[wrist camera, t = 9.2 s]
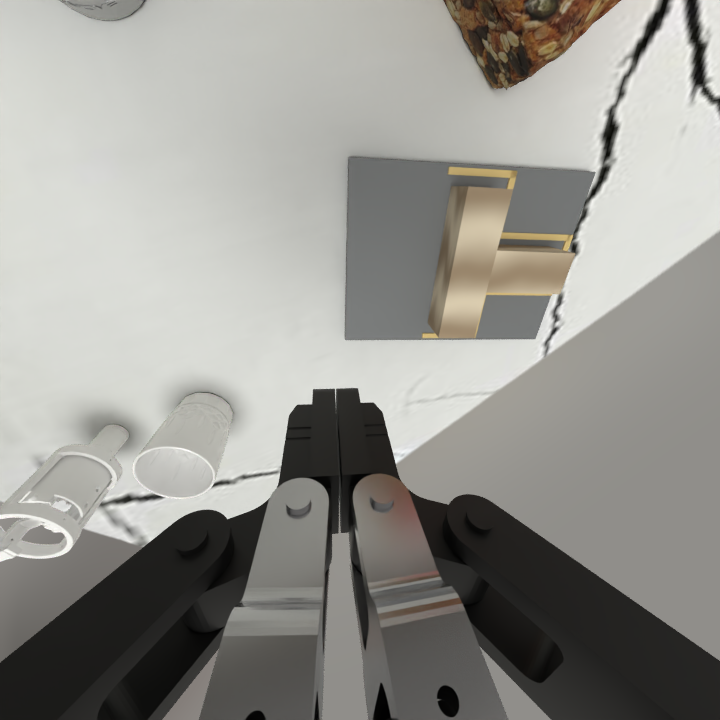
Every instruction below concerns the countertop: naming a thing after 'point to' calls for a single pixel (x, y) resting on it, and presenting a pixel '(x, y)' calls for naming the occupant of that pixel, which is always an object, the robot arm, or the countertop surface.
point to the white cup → (186, 448)
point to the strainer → (62, 494)
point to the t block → (485, 262)
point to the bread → (522, 32)
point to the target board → (424, 237)
